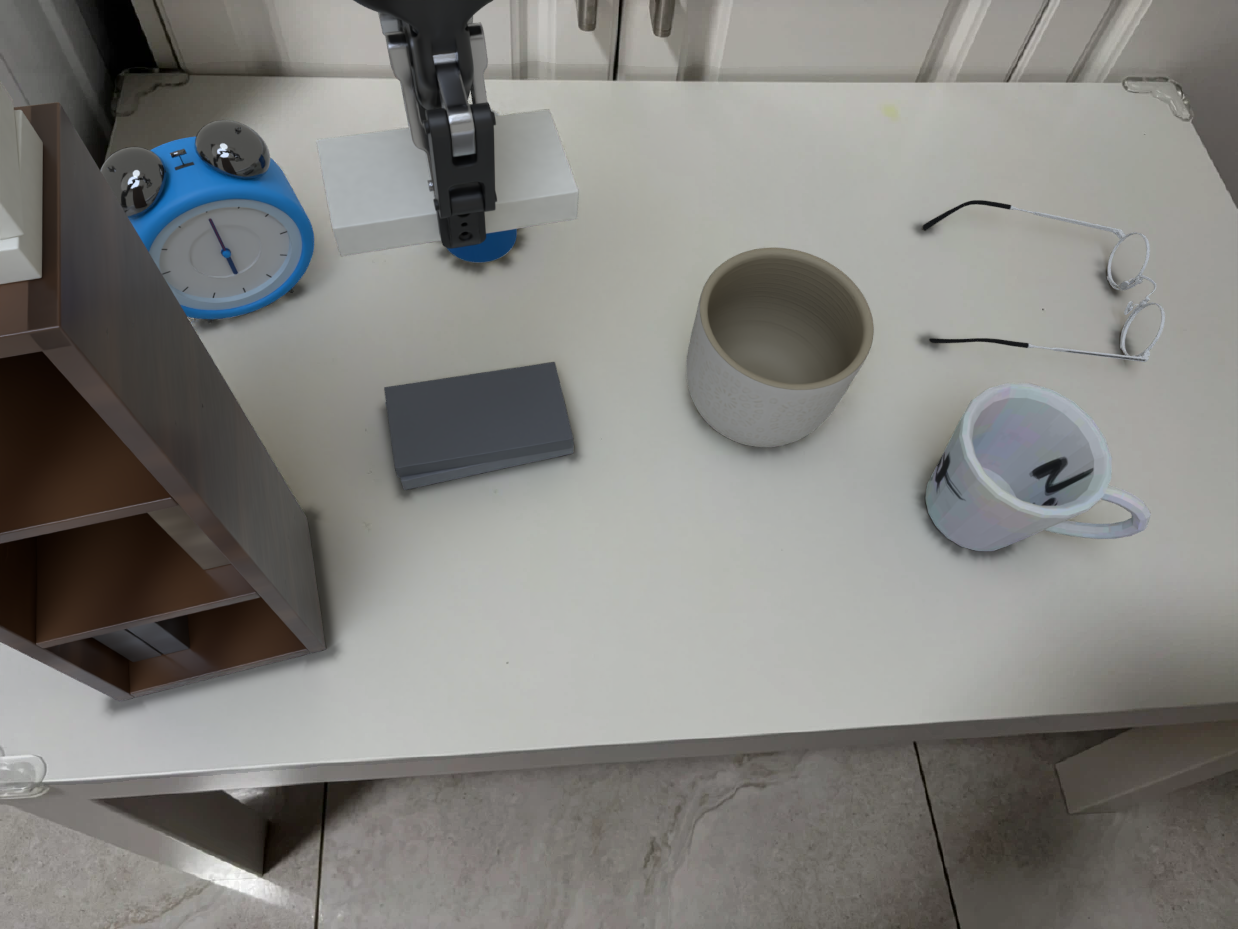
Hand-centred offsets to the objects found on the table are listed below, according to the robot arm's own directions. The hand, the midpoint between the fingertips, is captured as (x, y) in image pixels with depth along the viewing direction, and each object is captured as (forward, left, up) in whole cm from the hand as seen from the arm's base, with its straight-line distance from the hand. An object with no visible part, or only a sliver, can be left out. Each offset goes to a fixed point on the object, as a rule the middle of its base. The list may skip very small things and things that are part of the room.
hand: (450, 192), depth 44 cm
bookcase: (-20, -9, -25) cm, 33 cm away
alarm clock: (-16, +18, -25) cm, 35 cm away
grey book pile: (0, 0, -25) cm, 25 cm away
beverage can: (+4, +19, -25) cm, 32 cm away
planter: (+22, -2, -25) cm, 33 cm away
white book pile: (-20, -9, +11) cm, 25 cm away
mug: (+37, -17, -25) cm, 48 cm away
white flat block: (0, 0, 0) cm, 0 cm away
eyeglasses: (+50, +2, -25) cm, 56 cm away
